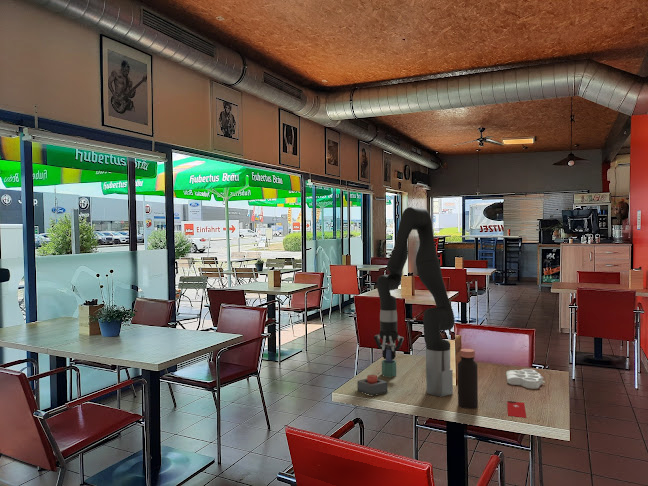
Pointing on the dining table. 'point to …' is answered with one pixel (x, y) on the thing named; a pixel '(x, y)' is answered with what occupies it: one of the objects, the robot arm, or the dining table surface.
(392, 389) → the dining table surface
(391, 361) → the marker
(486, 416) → the dining table surface
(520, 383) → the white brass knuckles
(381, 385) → the button console
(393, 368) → the pen cup
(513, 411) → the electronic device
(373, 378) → the button
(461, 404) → the bottle
